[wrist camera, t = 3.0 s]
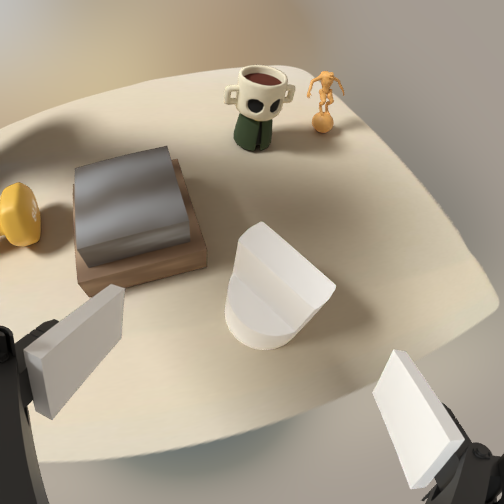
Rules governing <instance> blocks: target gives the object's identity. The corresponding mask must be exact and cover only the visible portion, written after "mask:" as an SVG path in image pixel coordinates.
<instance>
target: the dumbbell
mask: <svg viewBox="0 0 504 504" xmlns="http://www.w3.org/2000/svg"><path fill="white" fill-rule="evenodd" d="M40 233H41V219H40V211H39V208H38V205H37V202H36V199H35V196H34V194H33V192H32V190H31V189H30V188H29V187H28V186H26V185H24V184H23V183H20V182H18V183H15V184H13V185H10V186H8V187H6V188H5V189H4V190H3V192H2V194H1V197H0V236H2V235H5V236H6V238H7V239H8V241H9V242H10V243H11V244H13V245H15V246H27V245H31V244H33V243H36V242H38V241H39V239H40Z"/></svg>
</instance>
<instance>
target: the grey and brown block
mask: <svg viewBox="0 0 504 504" xmlns="http://www.w3.org/2000/svg"><path fill="white" fill-rule="evenodd" d="M73 223H74V244H75V258H76V270H77V280H78V284H79V285H80V286H81V288H82V289H83V290H84V292H85V293H86V294H87V295H88V296H89V297H92V296H95V295H96V294H98V293H99V292H100V291H102V290H103V289H105V288H106V287H107V286H109V285H110V284H113V285H116V286H119V287H122V288H127V287H130V286H134V285H138V284H142V283H146V282H150V281H154V280H157V279H161V278H165V277H169V276H173V275H177V274H181V273H184V272H188V271H192V270H196V269H200V268H204V267H207V248H206V245H205V242H204V239H203V236H202V233H201V230H200V227H199V224H198V221H197V218H196V215H195V212H194V209H193V206H192V203H191V200H190V197H189V194H188V191H187V187H186V184H185V181H184V178H183V175H182V172H181V168H180V165H179V162H178V159H174V160H171V158H170V155H169V151H168V147H167V146H164V147H159V148H155V149H150V150H145V151H141V152H136V153H132V154H128V155H124V156H119V157H115V158H111V159H108V160H104V161H100V162H96V163H92V164H89V165H85V166H82V167H78V168H75V184H73Z"/></svg>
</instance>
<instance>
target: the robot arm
mask: <svg viewBox="0 0 504 504" xmlns="http://www.w3.org/2000/svg"><path fill="white" fill-rule="evenodd" d="M124 294H125V288H122V287H119V286H116V285H113V284H110V285H109V286H107V287H106V288H105V289H103V290H102V291H100V292H99V293H98V294H96V295H95V296H94V297H92V298H91V299H89V300H88V301H87V302H85V303H84V304H83V305H81V306H80V307H79V308H77V309H76V310H74V311H73V312H72V313H70V314H69V315H68V316H66V317H65V318H64V319H62V320H61V321H57V320H55V319H53V320H50V321H47V322H44V323H42V324H41V325H40V326H38V327H37V328H36V330H35V329H34V330H33V331H31V332H30V334H27V335H26V336H24V337H23V338H22V339H20V340H19V341H18V342H16V343H15V344H14V338H13V333H12V331H11V330H10V329H9V328H6V327H4V326H0V504H49V502H48V498H47V495H46V492H45V488H44V485H43V481H42V477H41V473H40V469H39V465H38V460H37V456H36V451H35V446H34V441H33V435H32V430H31V423H30V417H29V411H28V407H27V405H28V404H29V403H30V402H31V401H32V400H33V402H34V406H35V410H36V412H38V413H40V414H42V415H44V416H46V417H47V418H49V419H51V420H53V418H54V417H55V416H56V415H57V414H58V412H59V411H60V410H61V409H62V407H63V406H64V405H65V404H66V403H67V401H68V400H69V399H70V398H71V397H72V395H73V394H74V393H75V392H76V391H77V389H78V388H79V387H80V386H81V385H82V383H83V382H84V381H85V380H86V379H87V377H88V376H89V375H90V374H91V373H92V372H93V370H94V369H95V368H96V367H97V366H98V365H99V363H100V362H101V361H102V360H103V359H104V358H105V356H106V355H107V354H108V353H109V352H110V351H111V350H112V348H113V347H114V346H115V345H116V344H117V343H118V341H119V340H120V339H121V338H122V321H123V306H124ZM372 394H373V396H374V399H375V401H376V403H377V406H378V408H379V411H380V413H381V415H382V418H383V420H384V423H385V425H386V427H387V430H388V432H389V435H390V437H391V440H392V442H393V445H394V447H395V450H396V452H397V455H398V458H399V460H400V463H401V465H402V468H403V471H404V473H405V476H406V479H407V481H408V484H409V487H410V489H415V488H422V487H426V486H427V485H428V484H429V483H430V482H431V481H432V479H433V478H435V480H436V482H437V484H436V485H435V486H434V487H433V488H432V489H431V491H429V493H428V494H427V495H426V496H425V497H424V498H423V499H422V501H424V500H425V499H426V498H428V499H427V501H426V503H425V504H504V454H503V455H502V456H501V457H500V456H492V453H491V451H490V450H489V449H488V448H487V447H486V446H485V445H483V444H480V443H472V442H471V440H470V439H469V437H468V436H467V434H466V433H465V431H464V429H463V428H462V426H461V425H460V424H459V422H458V420H457V419H455V416H454V414H453V413H452V411H451V410H450V409H449V408H448V407H447V406H446V405H445V404H443V403H441V401H440V400H439V398H438V397H437V395H436V394H435V392H434V391H433V390H432V388H431V387H430V385H429V384H428V382H427V381H426V379H425V378H424V376H423V375H422V373H421V372H420V371H419V369H418V368H417V366H416V365H415V363H414V362H413V361H412V359H411V358H410V356H409V355H408V354H407V352H406V351H401V350H395V349H393V351H392V353H391V355H390V358H389V360H388V362H387V364H386V366H385V368H384V370H383V372H382V375H381V377H380V379H379V381H378V383H377V385H376V387H375V389H374V391H373V392H372ZM501 492H502V497H501V499H500V500H499V501H498V502H497V496H498V495H499V494H500V493H501Z"/></svg>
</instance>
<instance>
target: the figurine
mask: <svg viewBox="0 0 504 504" xmlns="http://www.w3.org/2000/svg"><path fill="white" fill-rule="evenodd" d="M318 80H321V84H322V89H320V90H319V94H320V99H321V101H322V102H320V103H319V110H320V112H319V113H317V114H315V115H314V117H313V119H312V125H313V127H314V129H315V130H316V131H318V132H321V133H325V132H328V131H330V130H331V129H332V127H333V118H332V117H331V115H330V113H329V112H328V105H330V104H332V103H333V102H334V100H333V96H332V89H329V88H330V86H331V84H332V83H333V80H335V81H337V82H338V84H339V86H340V88H341V90H342V91H343V95H344V90H343V87H342V85H341V83H340V80H339V79H337V78H336V77H334V74H333V72H330V73H329V72H327V71H323V72H321V74H320V75H319V76H318V77H316V78H314V79H312V80H311V82H310V86H309V90H308V93H307V96H308V98H310V95H311V94H310V91H311V89H312V85H313V83H314V82H316V81H318ZM326 94H327V96H326ZM326 98H328V99H329V101H330V102H329V101H327V102H326ZM325 102H326V104H325ZM324 104H325V110H326V112H323V111H322V105H324Z"/></svg>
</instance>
